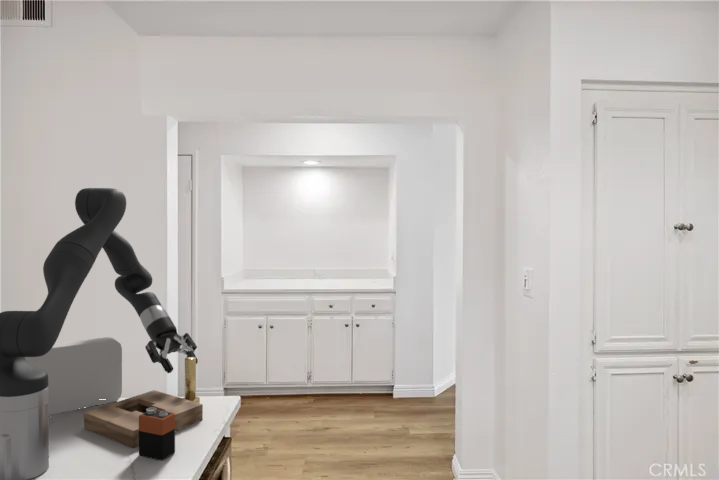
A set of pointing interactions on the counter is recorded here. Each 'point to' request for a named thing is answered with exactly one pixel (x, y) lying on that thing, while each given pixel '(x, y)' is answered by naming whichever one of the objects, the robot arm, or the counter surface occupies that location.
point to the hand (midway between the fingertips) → (183, 367)
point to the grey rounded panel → (82, 373)
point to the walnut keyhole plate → (124, 415)
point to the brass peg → (190, 380)
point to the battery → (156, 434)
